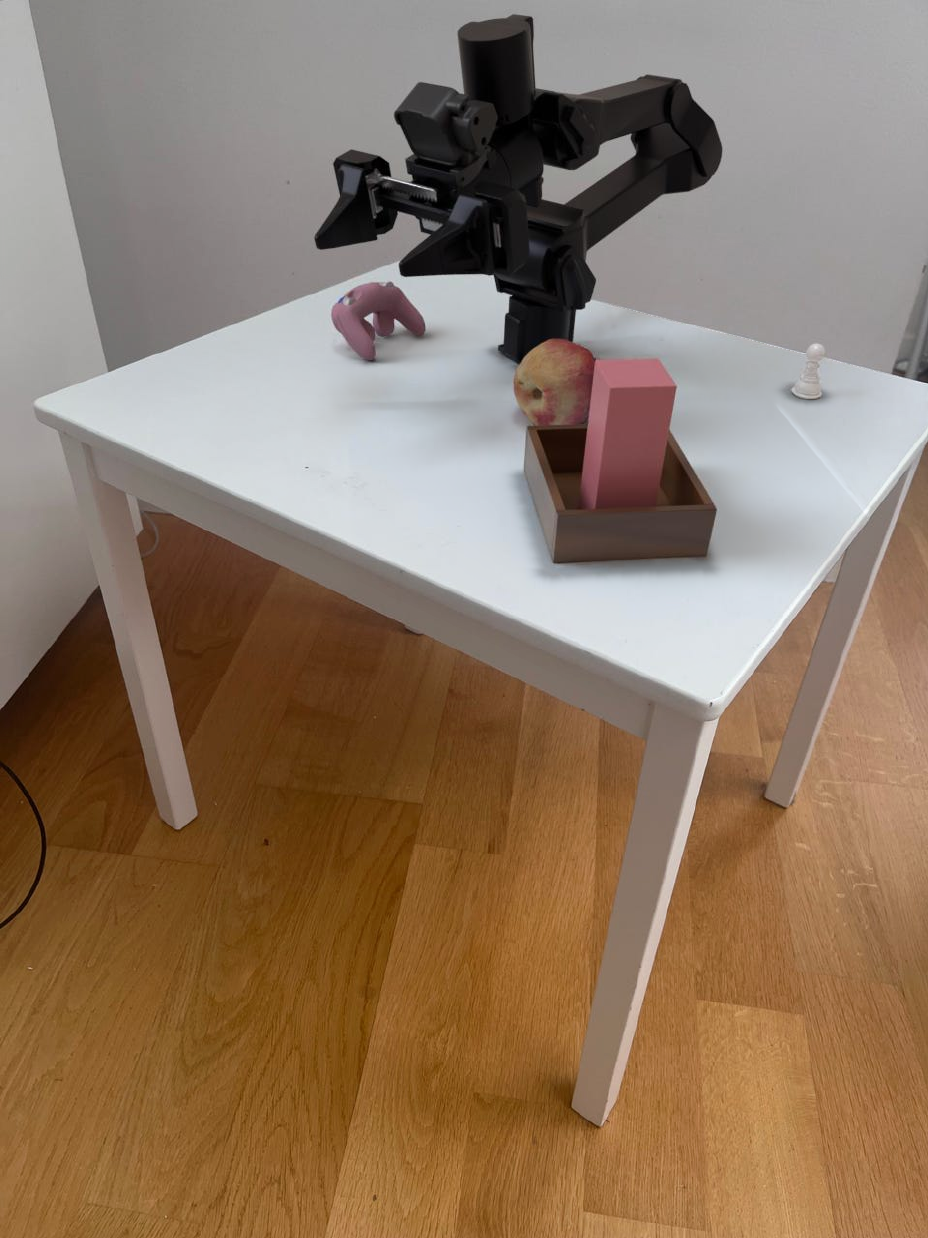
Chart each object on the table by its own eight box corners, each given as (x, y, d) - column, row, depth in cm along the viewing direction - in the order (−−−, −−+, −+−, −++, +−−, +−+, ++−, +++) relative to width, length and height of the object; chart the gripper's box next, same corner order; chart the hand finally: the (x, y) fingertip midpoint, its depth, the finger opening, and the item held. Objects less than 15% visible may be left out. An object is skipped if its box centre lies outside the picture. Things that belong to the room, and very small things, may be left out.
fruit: (502, 412, 88) (506, 328, 83) (580, 405, 89) (589, 322, 84) (527, 452, 82) (533, 364, 77) (610, 443, 83) (621, 357, 78)
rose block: (578, 505, 74) (595, 359, 66) (635, 503, 74) (658, 357, 67) (590, 538, 70) (610, 387, 63) (651, 535, 70) (677, 385, 63)
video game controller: (402, 340, 104) (379, 277, 102) (432, 331, 101) (408, 265, 99) (343, 369, 98) (316, 302, 96) (372, 360, 95) (345, 291, 92)
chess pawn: (802, 401, 91) (815, 351, 88) (785, 389, 93) (797, 340, 90) (826, 397, 92) (840, 348, 89) (809, 385, 94) (822, 337, 91)
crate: (522, 478, 78) (526, 425, 75) (656, 473, 79) (664, 421, 76) (552, 571, 68) (557, 515, 65) (705, 564, 69) (717, 508, 66)
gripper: (387, 55, 79) (249, 127, 71) (570, 86, 69) (432, 172, 62) (408, 189, 87) (286, 265, 80) (575, 232, 78) (453, 323, 70)
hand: (357, 256), depth 73 cm, fingers open, 9 cm apart
